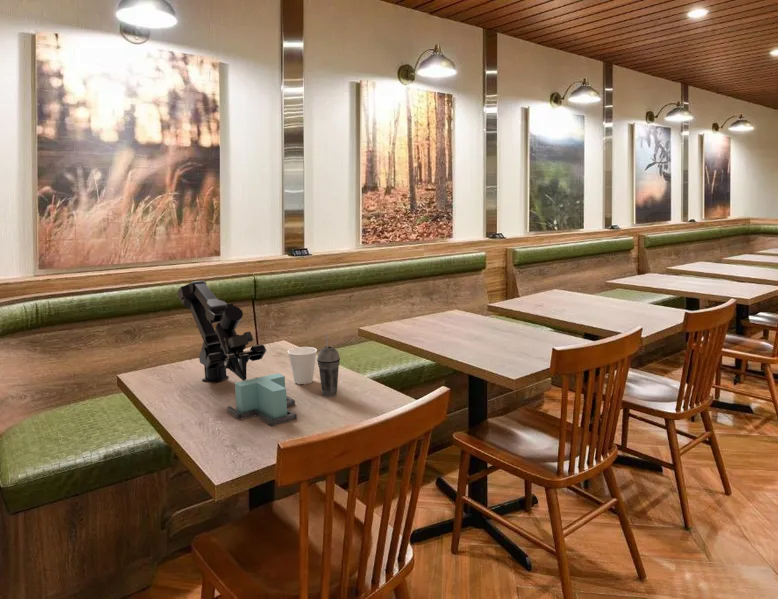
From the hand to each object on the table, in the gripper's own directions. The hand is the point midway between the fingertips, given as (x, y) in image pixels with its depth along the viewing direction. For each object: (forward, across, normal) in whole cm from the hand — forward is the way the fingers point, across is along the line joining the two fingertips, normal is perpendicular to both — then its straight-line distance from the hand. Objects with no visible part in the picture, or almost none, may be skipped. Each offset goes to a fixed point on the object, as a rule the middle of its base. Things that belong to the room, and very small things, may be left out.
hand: (244, 379), depth 180 cm
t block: (+15, 0, -7) cm, 17 cm away
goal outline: (+15, 0, -7) cm, 17 cm away
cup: (+3, +22, +6) cm, 23 cm away
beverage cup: (+14, +22, -6) cm, 27 cm away
